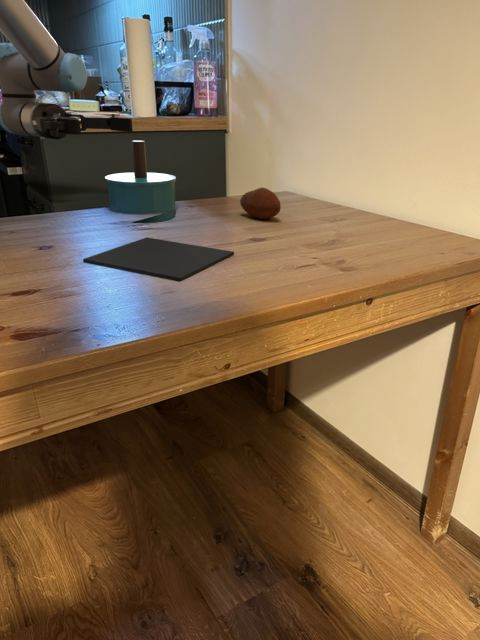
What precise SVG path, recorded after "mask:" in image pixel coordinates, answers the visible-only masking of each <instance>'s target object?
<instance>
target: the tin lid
mask: <svg viewBox="0 0 480 640" xmlns="http://www.w3.org/2000/svg"><path fill="white" fill-rule="evenodd" d="M131 149H132V152H131V153H132V162H133V172H120V173H112V174H108V175H106V176H104V181H105V182H106V183H107V182H109V183H113V184H120V185H161V184H168V183H173V182H176V181H177V177H176V176H175V175H172V174H169V173H168V174H167V173H161V172H160V173H159V172H148V169H147V155H146V153H147V152H146V142H145V140H132V141H131Z"/></svg>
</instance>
